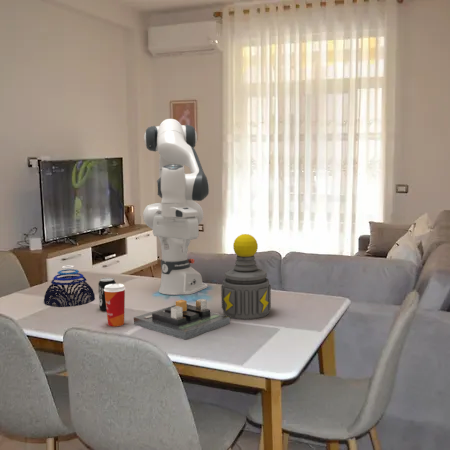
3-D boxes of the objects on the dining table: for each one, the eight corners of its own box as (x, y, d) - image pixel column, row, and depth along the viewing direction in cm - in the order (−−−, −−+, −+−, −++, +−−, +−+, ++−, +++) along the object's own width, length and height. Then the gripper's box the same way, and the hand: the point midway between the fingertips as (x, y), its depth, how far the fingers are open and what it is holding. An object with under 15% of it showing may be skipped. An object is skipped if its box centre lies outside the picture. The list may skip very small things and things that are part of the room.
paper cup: (106, 321, 203) (104, 283, 201) (127, 320, 204) (126, 282, 202) (103, 328, 195) (101, 288, 194) (126, 327, 196) (124, 288, 194)
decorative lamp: (245, 303, 225) (244, 229, 221) (281, 312, 211) (281, 233, 207) (210, 313, 212) (209, 234, 208) (247, 323, 198) (246, 239, 194)
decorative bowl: (33, 304, 228) (31, 270, 226) (65, 293, 246) (63, 260, 244) (74, 309, 220) (72, 273, 218) (103, 296, 239) (102, 263, 237)
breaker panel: (178, 310, 216) (178, 290, 214) (229, 323, 198) (229, 301, 197) (133, 324, 199) (133, 302, 198) (185, 339, 182) (184, 315, 181)
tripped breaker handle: (181, 309, 200) (181, 299, 200) (186, 310, 198) (186, 300, 198) (175, 311, 198) (175, 301, 197) (180, 312, 196) (180, 302, 196)
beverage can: (112, 312, 215) (111, 281, 213) (96, 311, 216) (95, 280, 215) (119, 307, 221) (118, 277, 220) (103, 306, 223) (102, 277, 221)
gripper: (147, 210, 199) (149, 249, 201) (187, 212, 186) (188, 254, 187) (161, 209, 204) (162, 247, 205) (201, 211, 190) (202, 252, 192)
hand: (175, 250), depth 196 cm, fingers open, 8 cm apart
